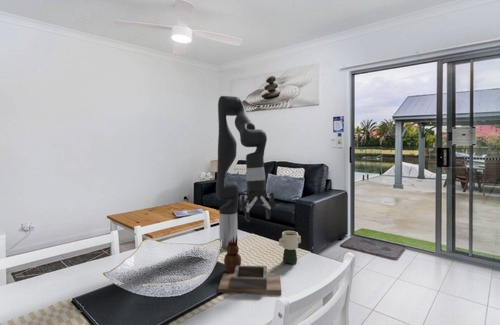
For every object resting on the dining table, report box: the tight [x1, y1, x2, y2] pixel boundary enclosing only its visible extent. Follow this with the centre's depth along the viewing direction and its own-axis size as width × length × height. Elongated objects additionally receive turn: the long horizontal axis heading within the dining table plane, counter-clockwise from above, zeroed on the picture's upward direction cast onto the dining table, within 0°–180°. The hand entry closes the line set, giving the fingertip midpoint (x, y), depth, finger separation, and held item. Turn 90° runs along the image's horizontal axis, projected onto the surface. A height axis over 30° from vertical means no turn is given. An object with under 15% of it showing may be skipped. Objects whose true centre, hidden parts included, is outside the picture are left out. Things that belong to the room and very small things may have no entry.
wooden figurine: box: [223, 236, 242, 274], centre depth 116 cm, size 7×6×15 cm
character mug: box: [278, 230, 302, 265], centre depth 126 cm, size 11×7×13 cm, turn 113°
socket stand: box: [217, 265, 282, 296], centre depth 105 cm, size 12×22×5 cm, turn 86°
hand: (258, 220), depth 114 cm, fingers open, 8 cm apart
